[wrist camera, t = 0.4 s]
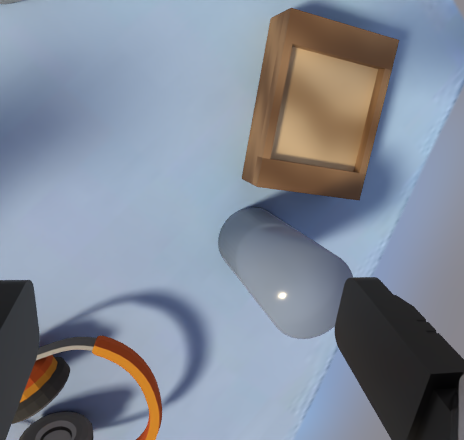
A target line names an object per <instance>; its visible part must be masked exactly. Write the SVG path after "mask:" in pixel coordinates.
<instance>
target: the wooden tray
mask: <svg viewBox="0 0 464 440" xmlns="http://www.w3.org/2000/svg"><path fill="white" fill-rule="evenodd" d="M398 43H399V40H397V39H394V38H390V37H387V36H384V35H380V34H377V33H374V32H370V31H367V30H364V29H360V28H357V27H354V26H350V25H347V24H344V23H340V22H337V21H333V20H330V19H327V18H323V17H320V16H317V15H313V14H310V13H307V12H303V11H300V10H297V9H293V8H290V9H288V10H286V11H284V12H282V13H280V14H278V15H276V16H274V17H272V18H271V20H270V26H269V31H268V37H267V42H266V48H265V53H264V59H263V64H262V70H261V75H260V81H259V86H258V92H257V97H256V103H255V108H254V114H253V119H252V125H251V130H250V136H249V141H248V147H247V152H246V158H245V163H244V169H243V174H242V179H243V180H245V181H247V182H249V183H251V184H253V185H255V186H257V187H262V188H270V189H278V190H285V191H293V192H300V193H308V194H315V195H323V196H330V197H338V198H345V199H353V200H360V196H361V192H362V188H363V184H364V180H365V176H366V172H367V168H368V163H369V159H370V155H371V151H372V147H373V143H374V139H375V135H376V131H377V127H378V123H379V119H380V115H381V111H382V107H383V103H384V99H385V95H386V91H387V87H388V83H389V79H390V75H391V71H392V67H393V63H394V59H395V55H396V51H397V47H398Z"/></svg>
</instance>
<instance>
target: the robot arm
mask: <svg viewBox="0 0 464 440" xmlns="http://www.w3.org/2000/svg"><path fill="white" fill-rule="evenodd" d="M18 1H23V0H0V4H9V3H14V2H18ZM335 338H336V342H337V345H338V347H339V349H340V351H341V353H342V355H343V356H344V358H345V360H346V361H347V363H348V365H349V367H350V368H351V370H352V372H353V373H354V375H355V377H356V379H357V380H358V382H359V384H360V386H361V388H362V389H363V391H364V393H365V394H366V396H367V398H368V400H369V401H370V403H371V405H372V407H373V408H374V410H375V412H376V413H377V415H378V417H379V419H380V420H381V422H382V424H383V426H384V427H385V429H386V431H387V433H388V434H389V436H390V438H391V440H464V359H463V358H462V357H461V356H460V355H459V354H458V353H457V352H456V351H455V350H454V349H453V348H452V347H451V346H450V345H449V344H448V343H447V341H445V339H444V338H443V337H442V336H441V335H440V334H439V333H436V330H435V329H434V328H433V327H432V326H431V325H430V323H428V322H426V319H425V318H424V317H423V316H422V315H421V314H420V313H419V312H418V311H417V310H416V309H415V307H414V306H412V305H410V304H409V303H407V302H406V301H404V300H403V299H401V298H400V297H398V296H396V295H393V294H392V293H391V292H390V291H389V290H388V288H387V287H386V286H385V285H384V284H383V283H382V282H381V281H380V280H379V279H378V278H375V277H361V278H348V279H347V280H346V282H345V284H344V288H343V292H342V296H341V301H340V305H339V309H338V314H337V318H336V322H335ZM38 349H39V326H38V318H37V310H36V302H35V294H34V287H33V283H32V282H31V281H30V280H0V440H6V437H7V434H8V432H9V429H10V426H11V424H12V421H13V419H14V416H15V413H16V411H17V408H18V406H19V403H20V400H21V398H22V395H23V393H24V390H25V387H26V385H27V382H28V380H29V377H30V374H31V372H32V369H33V367H34V364H35V361H36V358H37V355H38Z"/></svg>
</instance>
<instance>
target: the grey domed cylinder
mask: <svg viewBox="0 0 464 440" xmlns="http://www.w3.org/2000/svg"><path fill="white" fill-rule="evenodd" d="M218 246H219V251H220V254H221V256H222V258H223V259H224V261H225V262H226V263H227V265H228V266H229V267H230V268H231V270H232V271H233V272H234V274H235V275H236V276H237V277H238V279H239V280H240V281H241V282H242V284H243V285H244V286H245V288H246V289H247V290H248V291H249V293H250V294H251V295H252V297H253V298H254V299H255V300H256V302H257V303H258V304H259V306H260V307H261V308H262V309H263V311H264V312H265V313H266V314H267V316H268V317H269V318H270V320H271V321H272V322H273V323H274V325H275V326H276V327H277V328H278V329H279V330H280V331H281V332H282V333H284V334H285V335H287V336H290V337H292V338H297V339H308V338H313V337H317V336H320V335H322V334H324V333H326V332H327V331H329V330H330V329H332V328H333V327H334V326H335V322H336V318H337V314H338V309H339V305H340V301H341V296H342V292H343V288H344V284H345V282H346V280H347V279H348V278H353V276H352V273H351V270H350V269H349V267H348V265H347V264H346V263H345V262H344V261H343V260H342V259H341V258H339V257H338V256H336V255H335V254H333V253H332V252H330V251H329V250H327V249H325V248H324V247H322V246H321V245H319V244H318V243H316V242H315V241H313V240H311V239H310V238H308V237H307V236H305V235H304V234H302V233H301V232H299V231H298V230H296V229H294V228H293V227H291V226H290V225H288V224H287V223H285V222H284V221H282V220H281V219H279V218H277V217H276V216H274V215H273V214H271V213H270V212H268V211H266V210H264V209H261V208H256V207H250V208H245V209H242V210H239V211H237V212H236V213H234V214H233V215H231V216H230V217H229V218H228V219H227V220H226V222H225V223H224V225H223V226H222V228H221V231H220V234H219V240H218Z"/></svg>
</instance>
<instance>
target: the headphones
mask: <svg viewBox="0 0 464 440" xmlns="http://www.w3.org/2000/svg"><path fill="white" fill-rule="evenodd" d="M69 350H90V351H92V353H93V354H95V355H97V356H100V357H103V358H106V359H108V360H110V361H113V362H114V363H116V364H118V365H119V366H121V367H122V368H124V369H125V370H126V371H127V372H129V373H130V374H131V376H132V377H133V378H134V379H135V380H136V381H137V383H138V384H139V386H140V387H141V389H142V391H143V393H144V395H145V398H146V401H147V404H148V408H149V421H148V425H147V427H146V429H145V430H144V432H143V433H142V434H141V435H140V436H139V438H137V439H136V440H155V439H156V436H157V434H158V431H159V428H160V425H161V420H162V404H161V397H160V392H159V388H158V385H157V382H156V379H155V377H154V375H153V373H152V371H151V369H150V368H149V366H148V365H147V364H146V362H145V361H144V360H143V359H142V358H141V357H140V356H139V355H138V354H137V353H136V352H135V351H133V350H132V349H131V348H129V347H128V346H126V345H124V344H123V343H121V342H119V341H116V340H114V339H112V338H109V337H106V336H98V337H97V338H92V337H73V338H67V339H63V340H60V341H56V342H53V343H51V344H48V345H45V346H42V347H40V348H39V349H38V355H37V358H36V361H35V364H34V367H33V369H32V372H31V374H30V377H29V380H28V382H27V385H26V387H25V390H24V393H23V395H22V398H21V400H20V403H19V406H18V408H17V411H16V413H15V416H14V419H13V421H12V424H13V423H17V422H20V421H23V420H26V419H28V418H29V417H31V416H33V415H35V414H36V413H38V412H39V411H40V410H42V409H43V408H44V407H45V406H47V405H48V404H49V403H50V402H51V401H52V400H53V399H54V398H55V397H56V396H57V395H58V394H59V392H60V391H61V390H62V388H63V387H64V385H65V383H66V382H67V379H68V377H69V373H70V367H69V366H68V364H67V363H66V362H65V360H64V359H63V358H60V357H54V356H53V354H56V353H60V352H63V351H69ZM19 440H93V428H92V424H91V423H90V421H89V420H88V419H87V418H86V417H85V416H83V415H81V414H78V413H75V412H58V413H54V414H50V415H47V416H45V417H43V418H40V419H39V420H37V421H36V422H34V423H33V424H31V425H30V426H29V427H28V428H27V429H26V430H25V431H24V433H23V434H22V436H21V437H20V439H19Z"/></svg>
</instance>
